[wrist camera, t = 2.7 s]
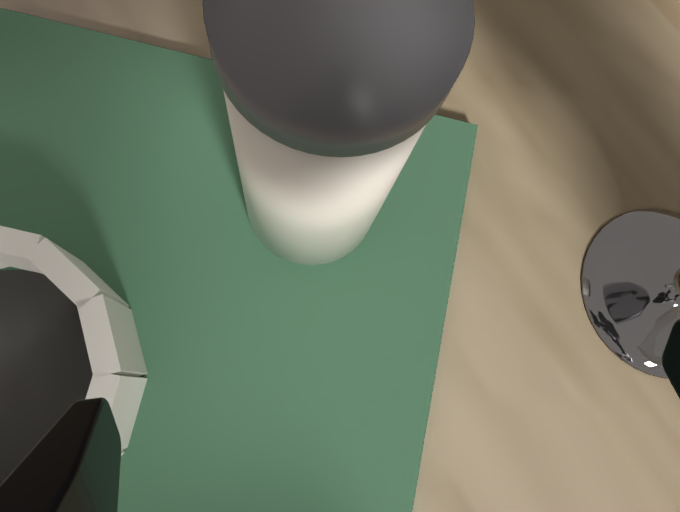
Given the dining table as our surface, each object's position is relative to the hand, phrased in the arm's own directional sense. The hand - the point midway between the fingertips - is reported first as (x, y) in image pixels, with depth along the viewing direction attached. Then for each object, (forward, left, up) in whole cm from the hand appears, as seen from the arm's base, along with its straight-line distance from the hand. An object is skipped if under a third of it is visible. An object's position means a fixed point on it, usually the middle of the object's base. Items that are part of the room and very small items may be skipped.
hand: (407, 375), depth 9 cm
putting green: (+6, -2, -13) cm, 15 cm away
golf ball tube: (+2, -7, -12) cm, 14 cm away
